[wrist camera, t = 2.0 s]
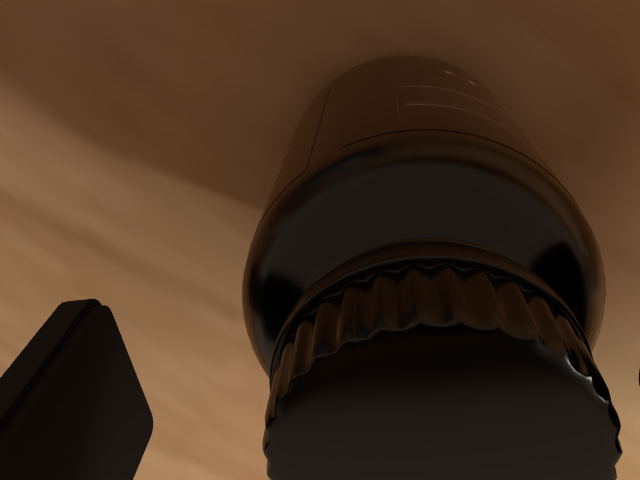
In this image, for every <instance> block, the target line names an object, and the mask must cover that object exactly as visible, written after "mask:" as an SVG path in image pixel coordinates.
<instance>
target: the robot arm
mask: <svg viewBox="0 0 640 480" xmlns="http://www.w3.org/2000/svg"><path fill="white" fill-rule="evenodd" d="M639 385H640V371H639ZM152 430H153V417H152V413H151V411H150V408H149V406H148V403H147V400H146V398H145V395H144V393H143V390H142V388H141V385H140V383H139V380H138V378H137V375H136V372H135V370H134V367H133V365H132V362H131V360H130V357H129V355H128V352H127V350H126V347H125V344H124V342H123V339H122V337H121V334H120V332H119V329H118V327H117V324H116V322H115V319H114V316H113V314H112V312H111V310H110V308H109V307H108V306H105V305H104V306H102V305H101V303H100V302H99V301H98V300H96V299H86V300H76V301H67V302H62V303H61V304H60V305H59V306H58V307H57V308H56V310H55V311H54V312H53V313H52V315H51V316H50V317H49V318H48V320H47V321H46V322H45V323H44V325H43V326H42V327H41V328H40V329H39V331H38V332H37V333H36V334H35V336H34V337H33V338H32V339H31V341H30V342H29V343H28V344H27V346H26V347H25V348H24V349H23V351H22V352H21V353H20V354H19V356H18V357H17V358H16V359H15V361H14V362H13V363H12V364H11V365H10V367H9V368H8V369H7V370H6V372H5V373H4V374H3V375H2V377H1V378H0V480H133V478H134V476H135V473H136V471H137V468H138V466H139V464H140V461H141V459H142V456H143V454H144V452H145V449H146V447H147V444H148V442H149V440H150V437H151V434H152Z"/></svg>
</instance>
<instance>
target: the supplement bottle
mask: <svg viewBox="0 0 640 480" xmlns="http://www.w3.org/2000/svg"><path fill="white" fill-rule="evenodd" d="M605 296H606V291H605V274H604V267H603V261H602V257H601V253H600V250H599V246H598V243H597V241H596V238H595V236H594V234H593V231H592V229H591V227H590V226H589V224H588V222H587V220H586V218H585V217H584V215H583V213H582V211H581V210H580V208H579V207H578V205H577V203H576V202H575V201H574V199H573V198H572V197H571V195H570V194H569V192H568V191H567V190H566V188H565V187H564V186H563V184H562V183H561V182H560V181H559V179H558V178H557V177H556V175H555V174H554V173H553V172H552V170H551V169H550V168H549V166H548V165H547V164H546V163H545V161H544V160H543V159H542V158H541V156H540V155H539V154H538V152H537V151H536V150H535V149H534V147H533V146H532V145H531V143H530V142H529V141H528V140H527V138H526V137H525V136H524V135H523V133H522V132H521V131H520V129H519V128H518V127H517V126H516V124H515V123H514V122H513V120H512V119H511V118H510V117H509V115H508V114H507V113H506V111H505V110H504V109H503V108H502V106H501V105H500V104H499V103H498V101H497V100H496V99H495V98H494V97H493V96H492V95H491V94H490V93H489V92H488V90H487V89H486V88H485V87H484V86H482V85H481V84H480V83H479V82H478V81H477V80H475V79H474V78H473V77H471V76H470V75H468V74H467V73H465V72H463V71H462V70H460V69H458V68H456V67H454V66H452V65H449V64H447V63H445V62H441V61H438V60H435V59H430V58H425V57H417V56H395V57H386V58H382V59H377V60H373V61H370V62H367V63H364V64H362V65H359V66H357V67H355V68H353V69H351V70H349V71H347V72H346V73H344V74H342V75H341V76H339V77H338V78H336V79H335V80H334V81H332V82H331V83H330V84H329V85H328V86H327V87H325V88H324V89H323V90H322V92H321V93H320V94H319V95H318V96H317V97H316V98H315V99H314V101H313V102H312V103H311V105H310V106H309V107H308V109H307V111H306V112H305V114H304V115H303V117H302V119H301V121H300V123H299V125H298V127H297V130H296V132H295V134H294V136H293V139H292V141H291V144H290V146H289V149H288V151H287V154H286V156H285V159H284V161H283V164H282V166H281V169H280V171H279V174H278V176H277V179H276V181H275V184H274V186H273V189H272V191H271V194H270V196H269V199H268V201H267V204H266V206H265V209H264V211H263V214H262V217H261V219H260V222H259V224H258V227H257V229H256V232H255V235H254V237H253V240H252V243H251V246H250V250H249V253H248V257H247V262H246V266H245V270H244V277H243V285H242V304H243V313H244V320H245V325H246V329H247V333H248V336H249V339H250V342H251V345H252V348H253V350H254V352H255V354H256V356H257V358H258V361H259V363H260V365H261V366H262V368H263V370H264V371H265V373H266V375H267V376H268V378H269V379H270V381H269V383H270V396H269V400H268V405H267V409H266V415H265V425H266V427H265V432H264V437H263V452H264V454H265V456H266V458H267V475H268V477H269V478H270V479H271V480H616V478H617V475H616V468H615V465H616V463H617V462H618V460H619V458H620V456H621V454H622V448H621V444H620V441H619V439H618V435H619V432H620V427H621V425H620V421H619V417H618V414H617V412H616V410H615V408H614V406H613V404H612V402H611V398H610V393H609V390H608V388H607V386H606V384H605V382H604V380H603V378H602V376H601V374H600V372H599V370H598V368H597V366H596V364H595V363H594V361H593V357H592V351H593V349H594V346H595V343H596V341H597V338H598V335H599V332H600V328H601V323H602V319H603V315H604V306H605Z"/></svg>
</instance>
